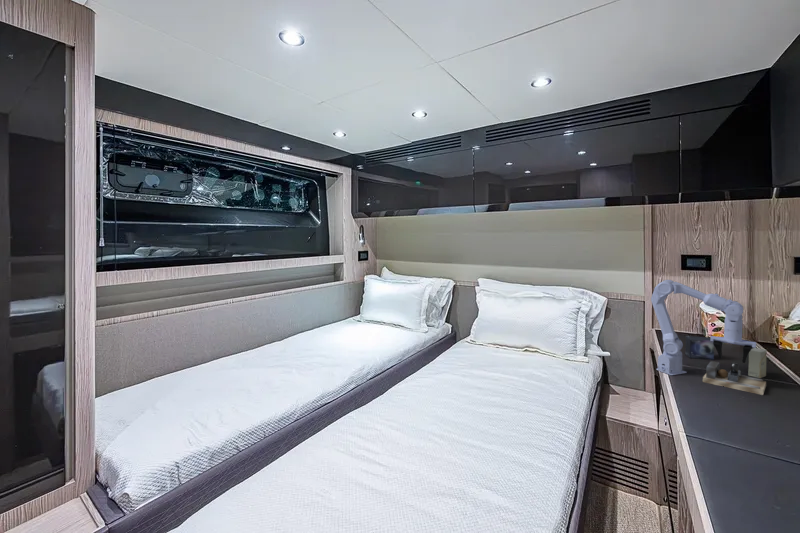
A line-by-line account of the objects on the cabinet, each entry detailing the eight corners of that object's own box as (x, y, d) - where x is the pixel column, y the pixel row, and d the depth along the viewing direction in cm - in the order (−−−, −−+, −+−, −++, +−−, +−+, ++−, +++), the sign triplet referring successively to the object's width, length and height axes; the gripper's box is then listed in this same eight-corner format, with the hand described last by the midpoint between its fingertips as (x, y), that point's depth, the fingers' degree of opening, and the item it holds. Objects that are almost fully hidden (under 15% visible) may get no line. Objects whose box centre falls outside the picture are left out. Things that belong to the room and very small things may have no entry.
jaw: (727, 381, 154) (728, 365, 154) (731, 375, 160) (731, 359, 159) (737, 383, 152) (737, 367, 151) (740, 376, 158) (741, 361, 157)
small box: (689, 358, 188) (690, 339, 187) (684, 354, 194) (685, 335, 193) (714, 360, 184) (715, 340, 183) (708, 356, 190) (709, 336, 189)
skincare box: (760, 378, 160) (761, 352, 159) (747, 375, 164) (748, 349, 163) (766, 375, 163) (767, 349, 162) (753, 372, 167) (754, 347, 166)
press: (702, 381, 160) (703, 366, 159) (708, 374, 167) (708, 359, 167) (763, 395, 145) (763, 378, 144) (766, 386, 153) (766, 370, 152)
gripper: (709, 328, 158) (708, 358, 160) (755, 334, 147) (753, 366, 148) (712, 325, 163) (711, 354, 164) (757, 331, 152) (756, 362, 153)
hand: (731, 360), depth 157 cm, fingers open, 7 cm apart
